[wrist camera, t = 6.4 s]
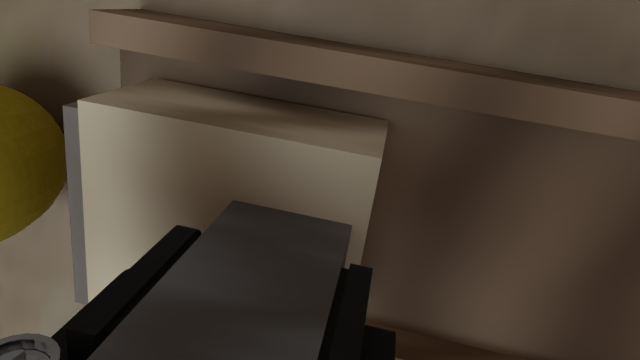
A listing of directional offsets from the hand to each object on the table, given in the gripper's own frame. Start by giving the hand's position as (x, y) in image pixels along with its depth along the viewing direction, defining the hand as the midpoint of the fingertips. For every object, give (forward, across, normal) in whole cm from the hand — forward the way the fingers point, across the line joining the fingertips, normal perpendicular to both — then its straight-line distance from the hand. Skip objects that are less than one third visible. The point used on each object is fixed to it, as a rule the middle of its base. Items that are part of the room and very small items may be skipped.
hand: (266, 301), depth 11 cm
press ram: (+6, +2, 0) cm, 6 cm away
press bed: (+7, -5, 0) cm, 9 cm away
